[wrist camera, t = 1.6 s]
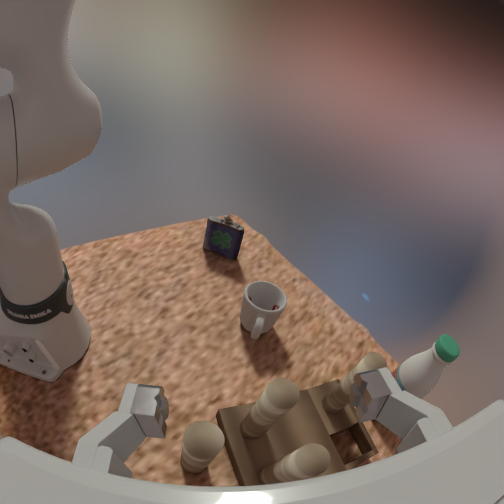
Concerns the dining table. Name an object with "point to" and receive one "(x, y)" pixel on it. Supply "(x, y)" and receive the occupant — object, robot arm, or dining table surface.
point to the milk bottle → (426, 367)
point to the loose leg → (200, 445)
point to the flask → (223, 237)
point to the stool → (295, 430)
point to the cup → (261, 307)
